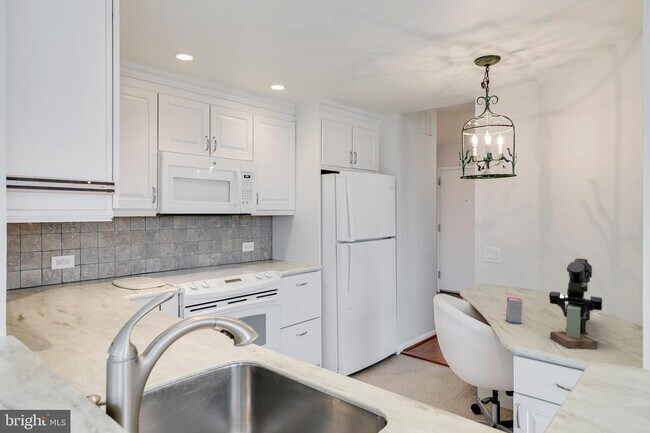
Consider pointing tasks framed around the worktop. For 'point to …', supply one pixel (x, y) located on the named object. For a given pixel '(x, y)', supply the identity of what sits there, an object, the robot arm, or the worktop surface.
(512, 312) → the supplement box
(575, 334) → the sage block
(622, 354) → the worktop surface
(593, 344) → the walnut base
